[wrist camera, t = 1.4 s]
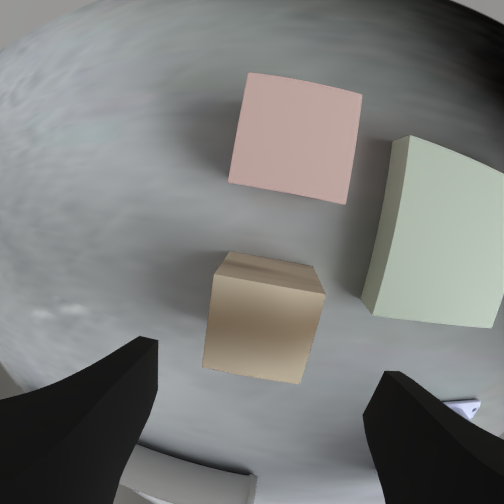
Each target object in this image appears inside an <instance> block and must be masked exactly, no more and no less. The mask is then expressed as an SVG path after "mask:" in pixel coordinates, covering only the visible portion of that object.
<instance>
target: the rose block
mask: <svg viewBox="0 0 504 504" xmlns="http://www.w3.org/2000/svg"><path fill="white" fill-rule="evenodd" d="M361 103H362V94H358V93H354V92H350V91H347V90H343V89H339V88H335V87H330V86H326V85H321V84H317V83H312V82H307V81H302V80H297V79H291V78H285V77H279V76H272V75H265V74H258V73H250V72H248V77H247V81H246V86H245V91H244V97H243V102H242V107H241V112H240V117H239V122H238V128H237V133H236V139H235V144H234V150H233V155H232V161H231V167H230V172H229V178H228V183H234V184H240V185H246V186H252V187H258V188H263V189H269V190H275V191H280V192H285V193H291V194H296V195H301V196H306V197H311V198H316V199H320V200H325V201H330V202H335V203H339V204H344V205H346V199H347V194H348V189H349V183H350V178H351V172H352V166H353V160H354V153H355V147H356V140H357V133H358V126H359V119H360V111H361Z"/></svg>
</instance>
